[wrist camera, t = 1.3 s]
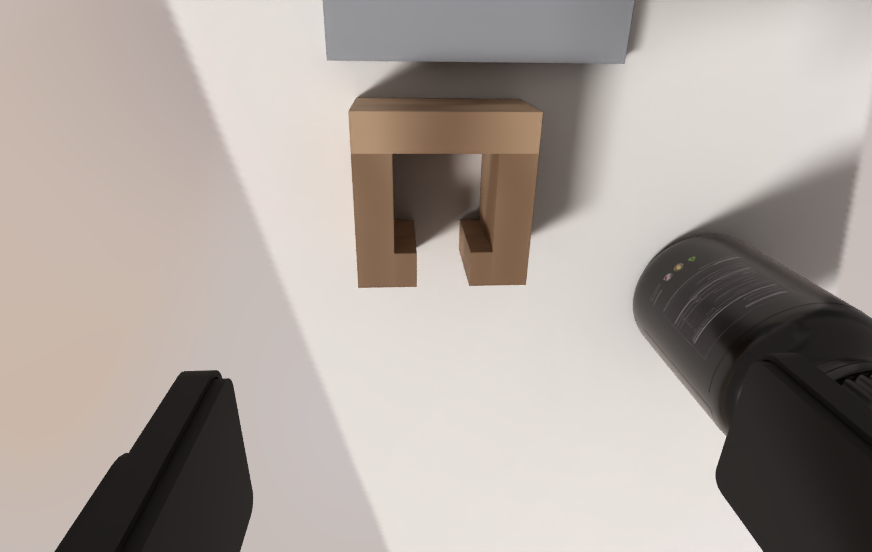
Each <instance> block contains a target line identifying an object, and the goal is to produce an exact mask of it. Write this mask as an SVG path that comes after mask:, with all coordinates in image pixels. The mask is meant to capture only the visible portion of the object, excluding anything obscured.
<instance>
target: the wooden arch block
mask: <svg viewBox="0 0 872 552" xmlns="http://www.w3.org/2000/svg"><path fill="white" fill-rule="evenodd" d="M542 117H543V112H542V111H540V110H538V109H537V108H535V107H533V106H531V105H530V104H528V103H526V102H524V101H523V100H521V99H480V98H356V99H355V101H354V103H353V104H352V106H351V108H350V110H349V129H350V147H351V164H352V182H353V200H354V217H355V235H356V253H357V270H358V288H371V287H417V252H416V241H415V229H414V220H395V215H394V168H393V154H482V168H481V187H480V206H479V220H460V234H459V251H460V255H461V258H462V262H463V265H464V269H465V272H466V276H467V279H468V283H469V286H483V285H526V278H527V268H528V258H529V248H530V238H531V228H532V218H533V208H534V197H535V187H536V177H537V167H538V157H539V147H540V137H541V127H542Z"/></svg>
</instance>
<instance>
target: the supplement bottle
mask: <svg viewBox="0 0 872 552" xmlns="http://www.w3.org/2000/svg"><path fill="white" fill-rule="evenodd" d="M633 313H634V318H635V321H636V324H637V326H638V328H639V330H640V331H641V333H642V334H643V336H644V337H645V338H646V340H647V341H648V342H649V343H650V345H651V346H652V347H653V349H654V350H655V351H656V352H657V353H658V355H659V356H660V357H661V358H662V359H663V361H664V362H665V363H666V364H667V366H668V367H669V368H670V369H671V370H672V372H673V373H674V374H675V375H676V377H677V378H678V379H679V380H680V381H681V383H682V384H683V385H684V386H685V388H686V389H687V390H688V391H689V392H690V394H691V395H692V396H693V397H694V398H695V400H696V401H697V402H698V403H699V405H700V406H701V407H702V408H703V409H704V411H705V412H706V413H707V414H708V416H709V417H710V418H711V419H712V420H713V422H714V423H715V424H716V425H717V426H718V428H719V429H720V430H721V431H722V432H723V433H724V434H725V435H726V436H727V434H728V431H729V427H730V424H731V421H732V418H733V415H734V412H735V408H736V405H737V402H738V399H739V396H740V393H741V389H742V386H743V383H744V380H745V377H746V374H747V370H748V368H749V366H750V365H751V364H752V363H754V362H756V360H757V358H758V357H759V356H761V355H763V354H772V353H797V354H800V355H802V356H803V357H805V358H806V359H807V360H809V361H810V362H811V363H813V364H814V365H815V366H816V367H818V368H819V369H820V370H822V371H823V372H824V373H825V374H827V375H828V376H829V377H831V378H832V379H833V380H834V381H836V382H837V383H838V384H840V385H841V386H842V387H843V388H845V389H846V390H847V391H849V392H850V393H851V394H852V395H854V396H855V397H856V398H858V399H859V400H860V401H861V402H863V403H864V404H865V405H867V406H868V407H869V408H870V409H872V318H871V317H869V316H868V315H866V314H865V313H863V312H862V311H860V310H858V309H856V308H855V307H853V306H851V305H849V304H848V303H846V302H845V301H843V300H841V299H840V298H838V297H836V296H834V295H833V294H831V293H829V292H828V291H826V290H824V289H823V288H821V287H819V286H817V285H816V284H814V283H812V282H811V281H809V280H807V279H806V278H804V277H802V276H801V275H799V274H797V273H795V272H794V271H792V270H790V269H789V268H787V267H785V266H784V265H782V264H780V263H778V262H777V261H775V260H773V259H772V258H770V257H768V256H767V255H765V254H763V253H761V252H760V251H758V250H756V249H755V248H753V247H751V246H749V245H747V244H746V243H744V242H742V241H740V240H737V239H735V238H732V237H729V236H725V235H716V234H706V235H699V236H694V237H690V238H687V239H684V240H682V241H679V242H677V243H675V244H673V245H672V246H670V247H668V248H667V249H665V250H664V251H662V252H661V253H660V254H659V255H658V256H656V257H655V258H654V259H653V260H652V261H651V263H650V264H649V265H648V266H647V268H646V269H645V270H644V272H643V273H642V275H641V277H640V279H639V281H638V283H637V286H636V289H635V292H634V298H633Z"/></svg>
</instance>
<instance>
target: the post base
mask: <svg viewBox="0 0 872 552" xmlns="http://www.w3.org/2000/svg"><path fill="white" fill-rule="evenodd" d="M634 1H635V0H323V11H324V25H325V40H326V54H327V60H335V61H423V62H511V63H599V64H625V58H626V51H627V45H628V39H629V32H630V26H631V20H632V13H633V7H634Z"/></svg>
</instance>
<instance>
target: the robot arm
mask: <svg viewBox="0 0 872 552" xmlns="http://www.w3.org/2000/svg"><path fill="white" fill-rule="evenodd" d="M716 482H717V485H718V488H719V490H720V492H721V493H722V495H723V496H724V497H725V499H726V500H727V502H728V503H729V504H730V506H731V507H732V509H733V510H734V511H735V513H736V514H737V515H738V517H739V518H740V520H741V521H742V522H743V524H744V525H745V527H746V528H747V529H748V531H749V532H750V534H751V535H752V536H753V538H754V539H755V541H756V542H757V543H758V545H759V546H760V547H761V549H762V550H763V552H872V409H870V408H869V407H868V406H867V405H865V404H864V403H863V402H861V401H860V400H859V399H858V398H856V397H855V396H854V395H852V394H851V393H850V392H849V391H847V390H846V389H845V388H843V387H842V386H841V385H840V384H838V383H837V382H836V381H834V380H833V379H832V378H831V377H829V376H828V375H827V374H825V373H824V372H823V371H822V370H820V369H819V368H818V367H816V366H815V365H814V364H813V363H811V362H810V361H809V360H807V359H806V358H805V357H803V356H802V355H800V354H797V353H772V354H763V355H761V356H759V357H758V358H757V360H756V362H754V363H752V364H751V365H750V366H749V368H748V370H747V374H746V377H745V380H744V383H743V386H742V389H741V393H740V396H739V399H738V402H737V405H736V408H735V412H734V415H733V418H732V421H731V424H730V427H729V431H728V434H727V437H726V440H725V443H724V446H723V450H722V453H721V456H720V459H719V462H718V465H717V468H716ZM252 507H253V491H252V486H251V480H250V475H249V469H248V464H247V458H246V453H245V448H244V442H243V436H242V431H241V425H240V420H239V415H238V409H237V404H236V398H235V393H234V388H233V383H232V381H231V380H230V379H229V378H228V379H222V376H221V374H220V372H219V371H217V370H213V371H184V372H181V373H180V375H179V376H178V377H177V379H176V380H175V382H174V383H173V385H172V386H171V388H170V390H169V391H168V393H167V394H166V396H165V397H164V399H163V400H162V402H161V404H160V405H159V407H158V408H157V410H156V412H155V413H154V415H153V416H152V418H151V419H150V421H149V422H148V424H147V425H146V427H145V428H144V430H143V431H142V433H141V435H140V436H139V438H138V439H137V441H136V442H135V444H134V445H133V447H132V449H131V450H130V452H129V453H125V454H123V455H121V456H120V457H118V459H117V460H116V461H115V462H114V464H113V465H112V466H111V468H110V469H109V470H108V472H107V474H106V475H105V476H104V478H103V479H102V481H101V483H100V484H99V486H98V487H97V489H96V490H95V492H94V493H93V495H92V496H91V498H90V499H89V501H88V502H87V504H86V505H85V507H84V508H83V510H82V511H81V513H80V514H79V516H78V517H77V519H76V520H75V522H74V523H73V525H72V526H71V528H70V529H69V531H68V532H67V534H66V535H65V537H64V538H63V540H62V541H61V543H60V544H59V546H58V548H57V549H56V550H55V552H240V550H241V546H242V543H243V540H244V536H245V533H246V530H247V527H248V523H249V520H250V517H251V513H252Z"/></svg>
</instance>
